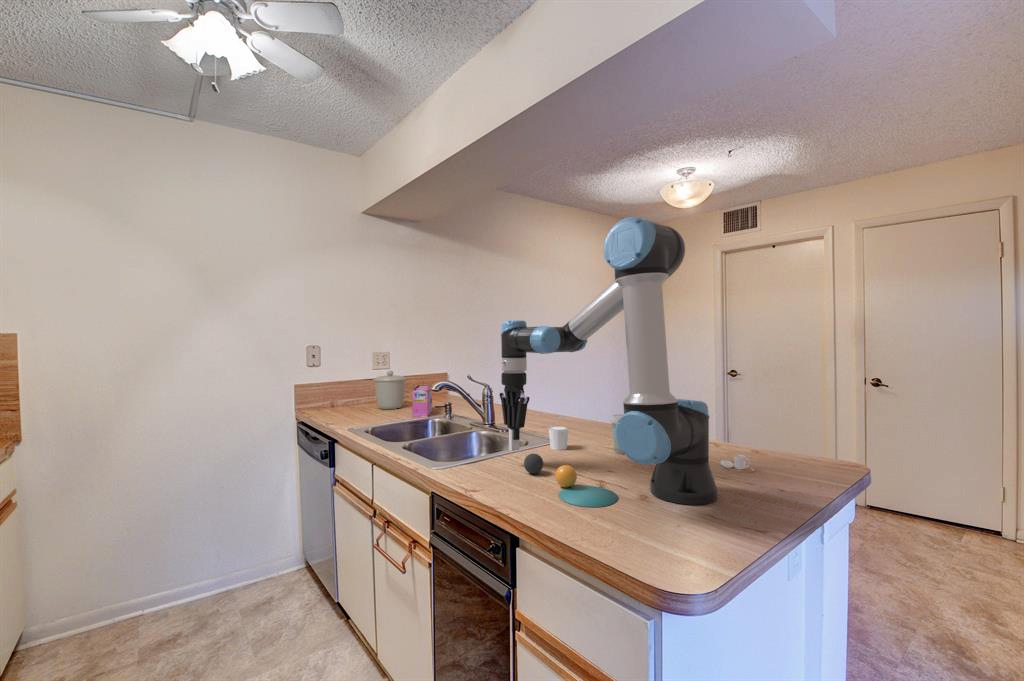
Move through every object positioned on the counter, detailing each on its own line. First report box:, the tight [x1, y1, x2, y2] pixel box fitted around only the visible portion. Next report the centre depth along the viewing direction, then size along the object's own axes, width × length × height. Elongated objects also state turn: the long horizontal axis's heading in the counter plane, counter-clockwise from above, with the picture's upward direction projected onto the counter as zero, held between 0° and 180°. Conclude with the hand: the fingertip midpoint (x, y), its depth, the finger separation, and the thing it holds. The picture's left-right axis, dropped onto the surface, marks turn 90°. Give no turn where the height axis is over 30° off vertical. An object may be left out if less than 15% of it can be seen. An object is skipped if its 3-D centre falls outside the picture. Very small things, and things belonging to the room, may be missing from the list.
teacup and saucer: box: [719, 454, 751, 470], centre depth 126 cm, size 9×8×4 cm
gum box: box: [411, 384, 433, 418], centre depth 227 cm, size 24×8×14 cm, turn 5°
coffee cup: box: [610, 413, 625, 455], centre depth 145 cm, size 8×8×12 cm
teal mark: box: [558, 485, 619, 508], centre depth 105 cm, size 14×14×1 cm
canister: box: [372, 370, 407, 410], centre depth 245 cm, size 18×18×21 cm
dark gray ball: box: [523, 453, 544, 475], centre depth 124 cm, size 6×6×6 cm
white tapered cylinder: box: [548, 425, 569, 451], centre depth 152 cm, size 7×7×7 cm
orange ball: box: [554, 464, 578, 489], centre depth 112 cm, size 6×6×6 cm
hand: (514, 449), depth 132 cm, fingers closed
